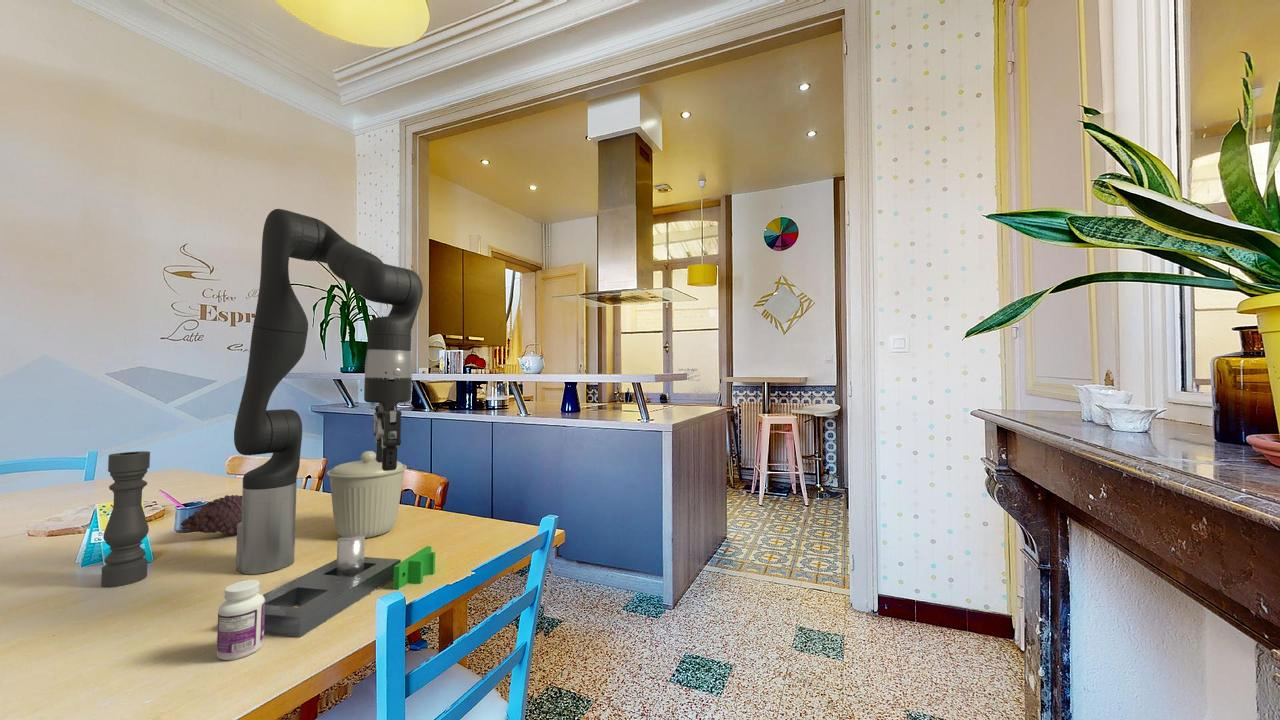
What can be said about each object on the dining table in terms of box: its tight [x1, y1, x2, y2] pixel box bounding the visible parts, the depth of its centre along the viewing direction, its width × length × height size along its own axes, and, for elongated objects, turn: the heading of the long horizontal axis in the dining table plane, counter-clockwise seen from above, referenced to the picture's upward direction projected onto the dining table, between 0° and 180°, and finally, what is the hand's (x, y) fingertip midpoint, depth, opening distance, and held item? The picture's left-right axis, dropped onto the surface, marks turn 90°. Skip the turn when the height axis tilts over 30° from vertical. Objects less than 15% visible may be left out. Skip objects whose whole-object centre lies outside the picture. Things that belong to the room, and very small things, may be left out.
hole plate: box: [262, 556, 402, 638], centre depth 87 cm, size 13×24×3 cm, turn 171°
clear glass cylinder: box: [336, 534, 366, 577], centre depth 93 cm, size 5×5×9 cm
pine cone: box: [180, 494, 242, 536], centre depth 121 cm, size 18×10×10 cm, turn 143°
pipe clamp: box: [392, 545, 436, 591], centre depth 97 cm, size 11×4×5 cm, turn 173°
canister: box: [326, 450, 407, 539], centre depth 124 cm, size 18×18×21 cm
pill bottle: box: [216, 579, 265, 661], centre depth 71 cm, size 5×5×10 cm
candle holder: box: [100, 450, 151, 588], centre depth 95 cm, size 6×6×25 cm
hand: (385, 465), depth 86 cm, fingers open, 8 cm apart
